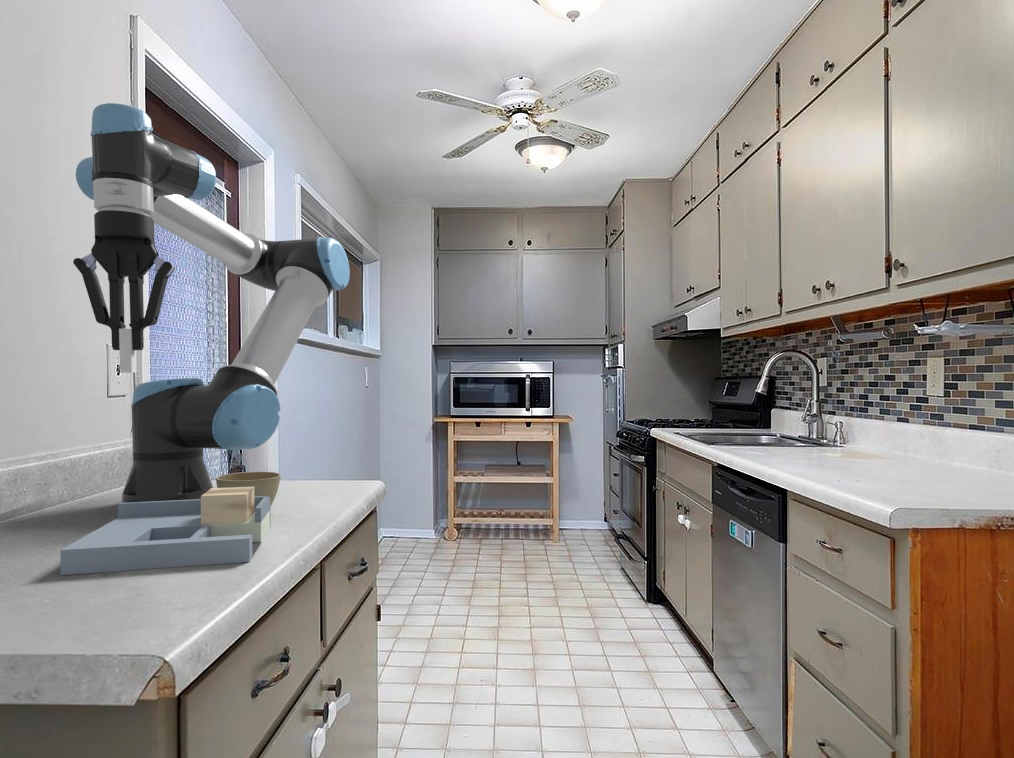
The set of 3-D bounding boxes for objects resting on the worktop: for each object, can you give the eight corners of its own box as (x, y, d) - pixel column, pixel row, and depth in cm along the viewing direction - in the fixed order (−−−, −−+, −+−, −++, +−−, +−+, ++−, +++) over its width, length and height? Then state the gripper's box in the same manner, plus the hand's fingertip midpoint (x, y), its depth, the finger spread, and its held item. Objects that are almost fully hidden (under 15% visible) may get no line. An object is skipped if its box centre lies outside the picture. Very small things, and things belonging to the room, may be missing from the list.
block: (211, 514, 89) (211, 488, 89) (254, 512, 91) (254, 486, 91) (200, 524, 83) (200, 495, 83) (246, 522, 85) (246, 494, 85)
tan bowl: (257, 526, 94) (257, 481, 94) (202, 523, 96) (202, 479, 96) (292, 512, 104) (292, 471, 104) (241, 510, 106) (241, 470, 106)
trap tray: (120, 536, 88) (119, 502, 88) (270, 527, 93) (270, 495, 93) (60, 575, 71) (60, 533, 71) (249, 561, 76) (249, 522, 76)
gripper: (62, 204, 83) (67, 373, 84) (167, 211, 87) (171, 372, 88) (82, 217, 90) (87, 372, 91) (179, 223, 94) (182, 371, 95)
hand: (128, 372), depth 89 cm, fingers closed
